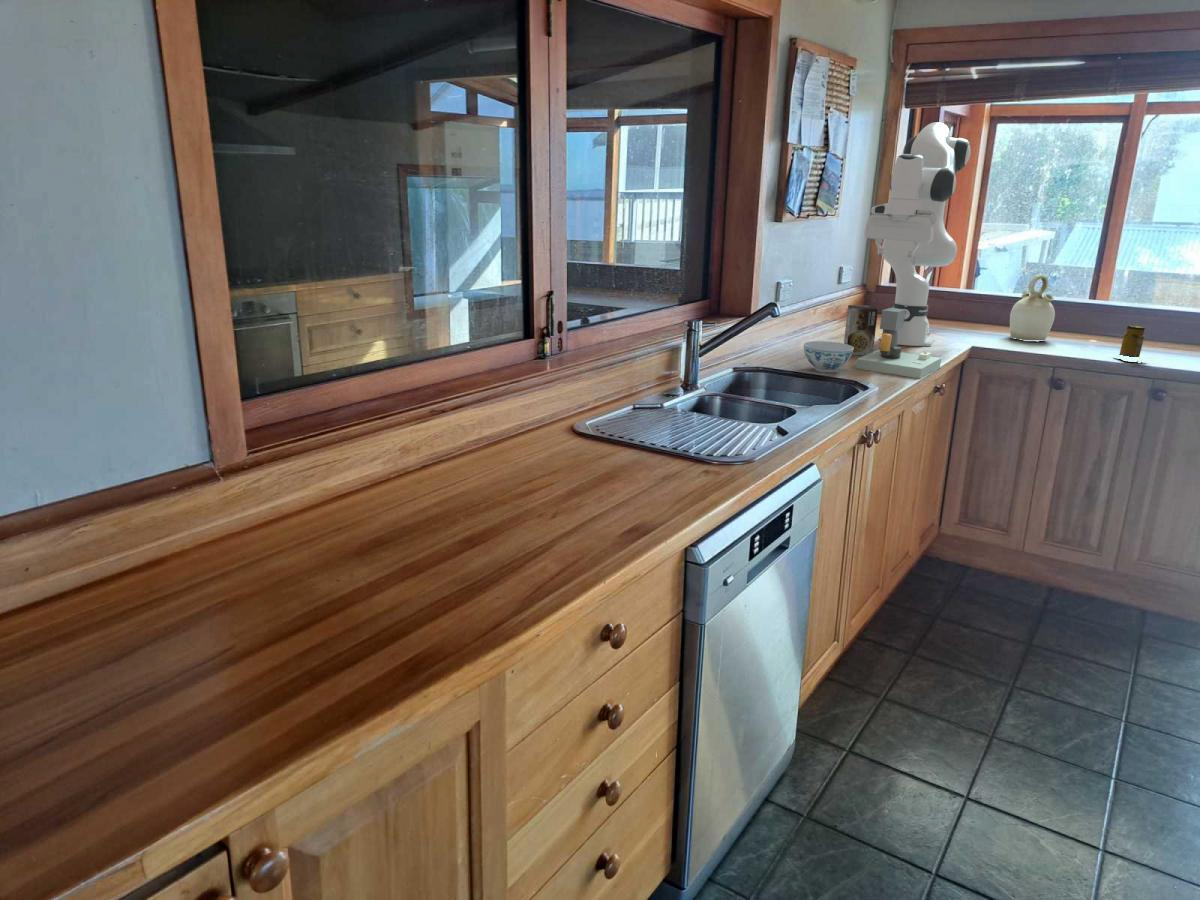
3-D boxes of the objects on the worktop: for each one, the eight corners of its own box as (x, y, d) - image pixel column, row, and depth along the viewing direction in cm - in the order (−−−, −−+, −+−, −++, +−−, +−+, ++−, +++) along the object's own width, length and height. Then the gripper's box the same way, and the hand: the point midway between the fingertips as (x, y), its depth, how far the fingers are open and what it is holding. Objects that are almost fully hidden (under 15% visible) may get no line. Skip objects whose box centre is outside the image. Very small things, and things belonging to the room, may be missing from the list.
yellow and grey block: (883, 353, 276) (887, 329, 274) (902, 356, 273) (906, 331, 270) (872, 358, 267) (875, 333, 265) (891, 361, 264) (895, 336, 262)
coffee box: (868, 352, 294) (875, 305, 289) (872, 356, 288) (879, 308, 283) (842, 351, 295) (847, 304, 290) (845, 354, 289) (851, 307, 284)
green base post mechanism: (878, 357, 286) (885, 307, 280) (939, 367, 275) (948, 314, 270) (855, 368, 268) (862, 314, 263) (920, 378, 258) (929, 322, 252)
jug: (1057, 344, 324) (1070, 277, 316) (1016, 342, 324) (1029, 276, 316) (1038, 336, 339) (1050, 273, 331) (999, 335, 339) (1010, 271, 331)
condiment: (1131, 358, 301) (1139, 325, 298) (1147, 363, 293) (1155, 329, 289) (1111, 358, 301) (1119, 324, 297) (1126, 363, 293) (1134, 328, 289)
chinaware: (848, 378, 255) (851, 352, 252) (797, 372, 260) (800, 347, 257) (852, 368, 268) (855, 344, 266) (804, 363, 273) (807, 339, 271)
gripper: (940, 211, 258) (932, 258, 262) (873, 208, 269) (867, 252, 273) (934, 210, 253) (926, 258, 257) (866, 207, 264) (860, 253, 268)
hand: (895, 255), depth 265 cm, fingers open, 8 cm apart
